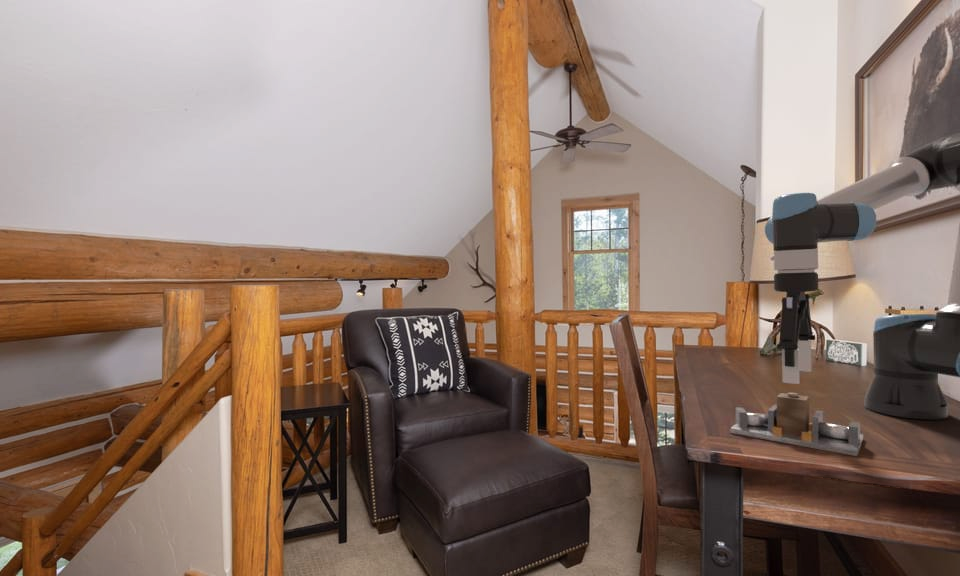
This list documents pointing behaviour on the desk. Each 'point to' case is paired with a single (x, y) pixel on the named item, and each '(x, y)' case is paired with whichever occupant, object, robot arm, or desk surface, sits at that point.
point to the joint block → (793, 412)
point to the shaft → (750, 419)
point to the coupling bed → (809, 434)
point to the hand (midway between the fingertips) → (797, 376)
